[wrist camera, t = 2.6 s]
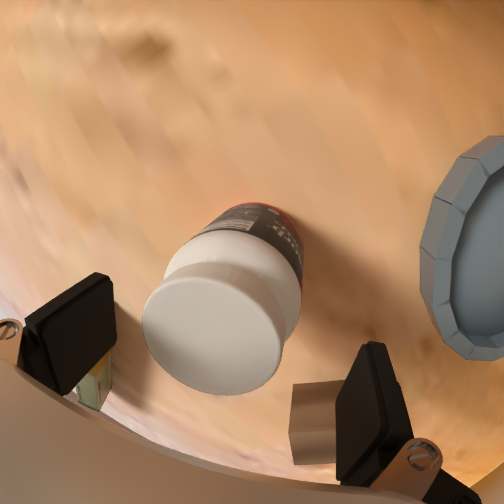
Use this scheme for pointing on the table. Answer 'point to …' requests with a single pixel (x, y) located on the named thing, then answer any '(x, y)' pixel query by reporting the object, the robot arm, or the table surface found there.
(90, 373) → the medication box
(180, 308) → the pill bottle
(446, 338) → the dish
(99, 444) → the robot arm
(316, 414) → the walnut block
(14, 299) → the table surface
